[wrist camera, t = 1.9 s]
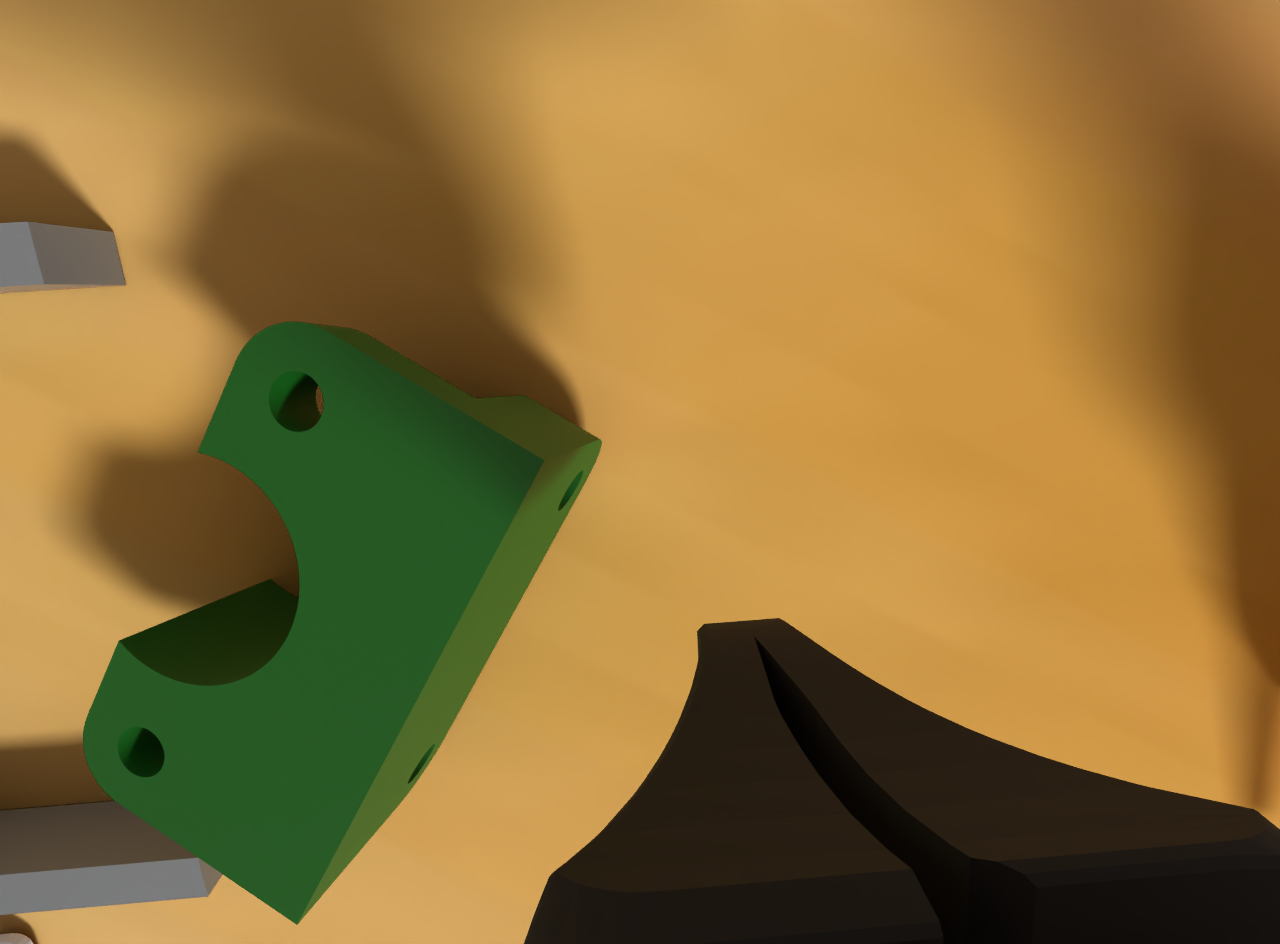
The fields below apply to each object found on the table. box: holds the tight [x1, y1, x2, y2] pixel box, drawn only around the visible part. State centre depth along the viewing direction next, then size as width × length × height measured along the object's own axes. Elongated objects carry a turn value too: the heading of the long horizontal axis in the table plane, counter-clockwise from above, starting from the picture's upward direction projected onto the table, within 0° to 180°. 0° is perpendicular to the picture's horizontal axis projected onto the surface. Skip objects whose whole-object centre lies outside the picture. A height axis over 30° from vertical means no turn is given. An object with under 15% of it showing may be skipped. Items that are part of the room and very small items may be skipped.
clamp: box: [83, 322, 602, 924], centre depth 16 cm, size 12×6×9 cm, turn 145°
